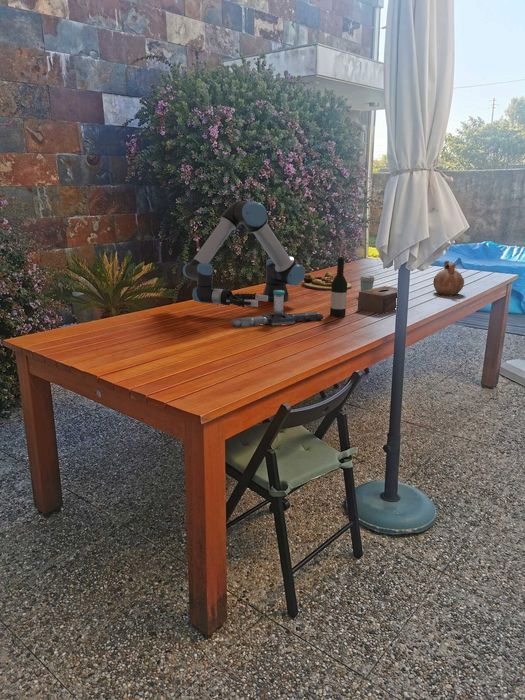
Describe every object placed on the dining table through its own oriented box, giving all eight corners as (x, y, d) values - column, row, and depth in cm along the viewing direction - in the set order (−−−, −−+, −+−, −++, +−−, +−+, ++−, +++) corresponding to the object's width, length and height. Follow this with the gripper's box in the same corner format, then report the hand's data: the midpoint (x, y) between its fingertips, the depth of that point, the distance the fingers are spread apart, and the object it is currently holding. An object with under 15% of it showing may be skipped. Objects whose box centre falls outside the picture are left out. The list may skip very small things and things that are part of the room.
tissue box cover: (380, 314, 292) (382, 295, 289) (357, 310, 301) (358, 291, 298) (406, 307, 310) (407, 289, 307) (383, 303, 319) (385, 286, 316)
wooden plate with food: (296, 288, 356) (297, 275, 353) (308, 280, 385) (309, 268, 382) (346, 294, 347) (347, 280, 344) (354, 284, 376) (356, 272, 373)
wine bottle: (333, 317, 282) (336, 257, 273) (326, 313, 290) (330, 255, 281) (348, 317, 284) (352, 257, 275) (341, 313, 292) (345, 255, 283)
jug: (466, 297, 340) (471, 264, 334) (436, 296, 340) (440, 263, 334) (457, 291, 358) (461, 259, 352) (428, 290, 358) (432, 259, 352)
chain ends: (228, 323, 267) (229, 317, 266) (314, 315, 285) (314, 310, 284) (238, 329, 256) (238, 323, 255) (325, 321, 274) (326, 315, 273)
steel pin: (270, 321, 272) (271, 290, 267) (280, 320, 274) (281, 289, 270) (275, 324, 267) (276, 292, 263) (285, 323, 269) (286, 291, 265)
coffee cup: (373, 298, 331) (374, 278, 327) (358, 297, 332) (359, 277, 329) (373, 295, 339) (374, 275, 335) (359, 294, 340) (360, 274, 337)
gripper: (232, 299, 290) (271, 303, 283) (211, 309, 267) (253, 314, 260) (233, 285, 288) (271, 289, 281) (211, 294, 265) (253, 298, 258)
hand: (263, 301), depth 270 cm, fingers open, 13 cm apart
